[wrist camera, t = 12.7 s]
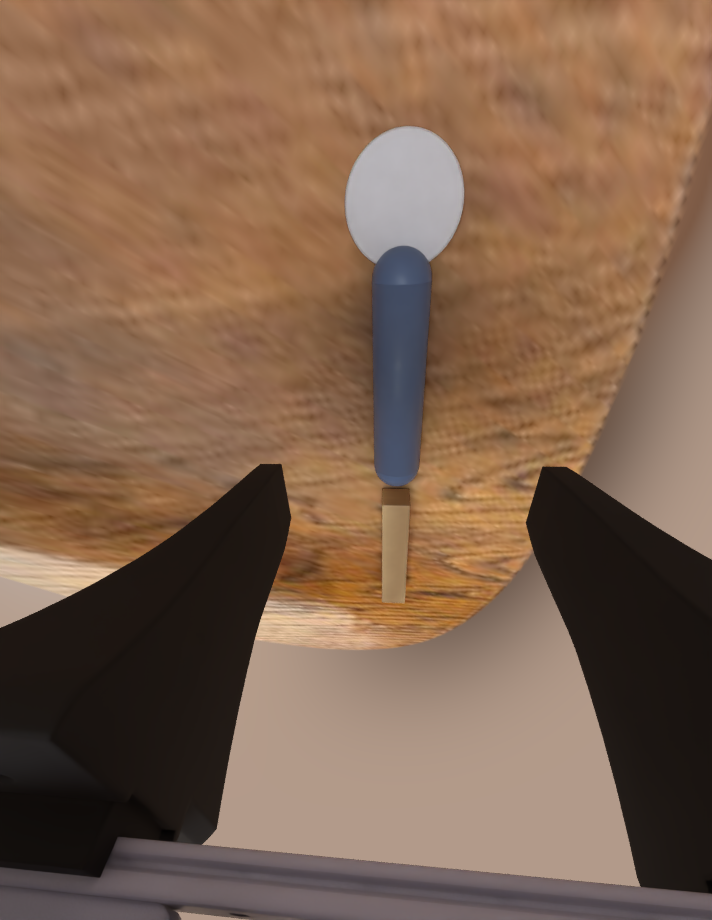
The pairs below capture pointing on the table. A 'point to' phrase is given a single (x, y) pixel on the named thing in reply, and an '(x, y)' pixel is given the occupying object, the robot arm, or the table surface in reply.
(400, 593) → the baton
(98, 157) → the table surface
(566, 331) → the table surface
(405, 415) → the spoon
